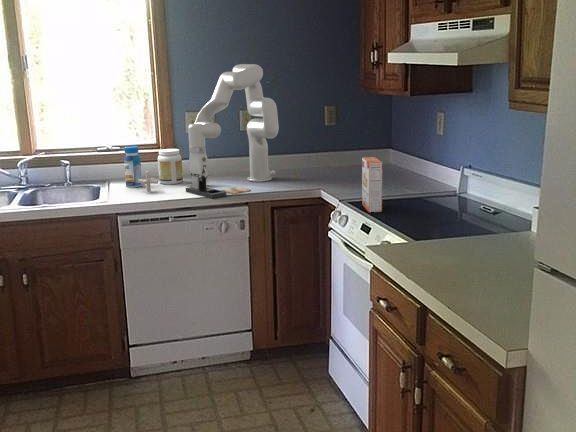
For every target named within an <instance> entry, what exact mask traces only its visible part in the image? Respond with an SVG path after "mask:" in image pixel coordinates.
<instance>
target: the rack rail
mask: <svg viewBox="0 0 576 432" xmlns="http://www.w3.org/2000/svg"><path fill="white" fill-rule="evenodd" d="M221 190H222V189H216V188H211V187H209V186H207V189H202V190H194V189H192V187H190V186H188V187H185V193H188V194H192V195H197V196H199V197H203V198H208V199H219V198H224V197H227V192H225V191H221Z"/></svg>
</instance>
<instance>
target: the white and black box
mask: <svg viewBox="0 0 576 432" xmlns="http://www.w3.org/2000/svg"><path fill="white" fill-rule="evenodd" d="M202 177H203V176H202ZM191 185H192V189H194V190H202V189H200V177H199V175H195V176H191ZM207 185H208V183H207V179H206V189H207V187H208V186H207Z"/></svg>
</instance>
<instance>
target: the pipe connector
mask: <svg viewBox="0 0 576 432" xmlns="http://www.w3.org/2000/svg"><path fill="white" fill-rule="evenodd" d="M150 175H151V174H150V171H149V170H145V179H139V180H138V183H141V184H142V186H144V185H146V192H147V193H150V192H151V191H152V190H151V189H152V188H151V185H152V184H154V185H155V184H158V183H159V179H158V180H157V179H156V178H155V177H151V176H150ZM150 177H151V178H150Z"/></svg>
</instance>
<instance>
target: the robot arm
mask: <svg viewBox="0 0 576 432" xmlns="http://www.w3.org/2000/svg"><path fill="white" fill-rule="evenodd" d="M231 70H232V71H224V72H222V73H221V74H220V75H219V78H218V80H217V83H216V85H215V89H214V91H213V94H212V96H211V97H210V98H211V99H210V100H209V101H207V103H206V104H204V106H203V107H202V108H201V109H200V111H199V112H198V113H197V116H196V119H195V122H194V123H190V124H189V125H188V127H187V129H188V130H187V131H188V147H189V157H188V158H189V163H188V165H189V166H188V167H189V171H188V172H189V173H190V175H191V177H192V176H195V175H199V177H200V189H206V180H207V179H208V176H210V175H209V172H210V169H209V168H210V167H209V159H208V155H207V152H206V139H215V138H218V137H219V136H220V135H221V132H222V128H221V126H220V125H219V124H218V123H217V122H212V121H210V120H211V119H212V118H213V117H214V115H215V114H217V113H219V112H220V111H223V110H224V109H226V108H228V106H229V104H230V101H231V98H232V95H233V93H234V91H241V90H244V92H245V99H246V108H247V112H248V114H249V115H250V116H252V117H259V118H252V119H250V120H249V121H248V122H247V124H246V133H247V134H246V135H247V138H248V147H249V173H250V174H249V176H248V177H247V181H248V182H256V183H259V182H260V183H261V182H262V183H263V182H270V181H272V179H273V177H272V175H276V170H269V147H268V145H269V144H268V141H267V139H274V138H276V137H277V136H278V133H279V131H280V130H279V128H280V125H279V115H278V108H277V107H278V106H277V104H276V102H275V101H274V100H273V99H272V98H270V97H264V93H263V87H262V84H261V82H260V81H261V80H262V78H263V76H264V70H263V68H262V67H261V66H260V65H258V64H255V63H254V64H253V63H250V64H248V63H244V64H243V63H241V64H236V65H235V66H233V68H232V69H231ZM202 173H203V174H202ZM202 176H203V177H202Z"/></svg>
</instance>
